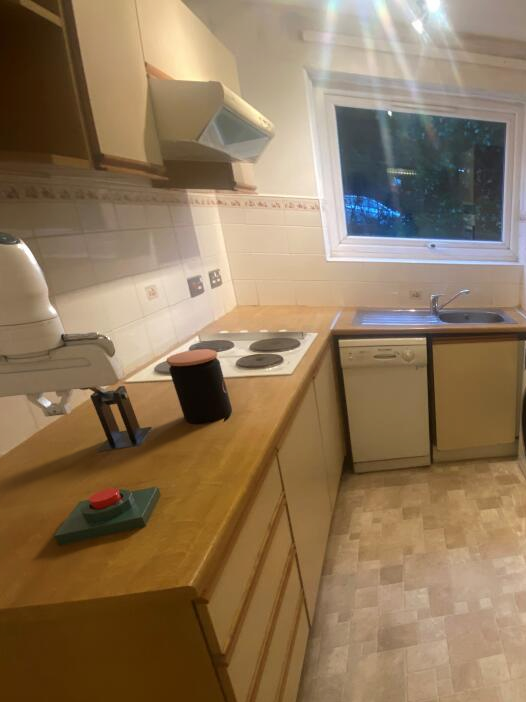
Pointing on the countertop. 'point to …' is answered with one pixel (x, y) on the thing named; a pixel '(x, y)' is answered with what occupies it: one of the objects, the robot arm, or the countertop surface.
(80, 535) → the button box
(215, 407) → the coffee jar
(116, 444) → the bracket
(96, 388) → the lever
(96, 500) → the button
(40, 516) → the countertop surface
